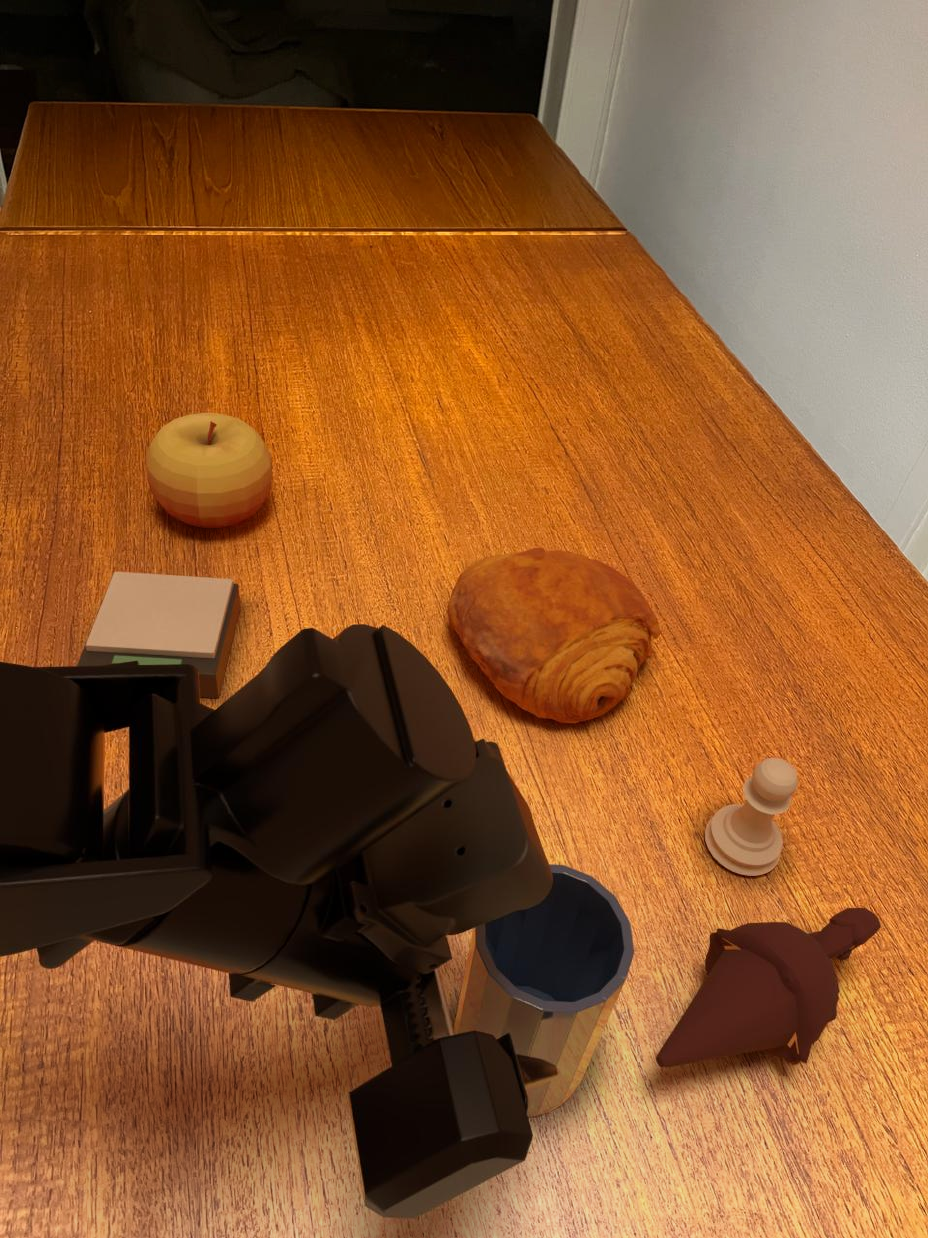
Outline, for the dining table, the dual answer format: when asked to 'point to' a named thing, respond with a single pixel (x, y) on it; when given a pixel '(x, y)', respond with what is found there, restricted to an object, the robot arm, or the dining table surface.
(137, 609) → the scale
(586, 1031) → the cup
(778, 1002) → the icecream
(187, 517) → the apple
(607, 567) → the croissant
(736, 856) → the chess piece
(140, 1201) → the dining table surface
